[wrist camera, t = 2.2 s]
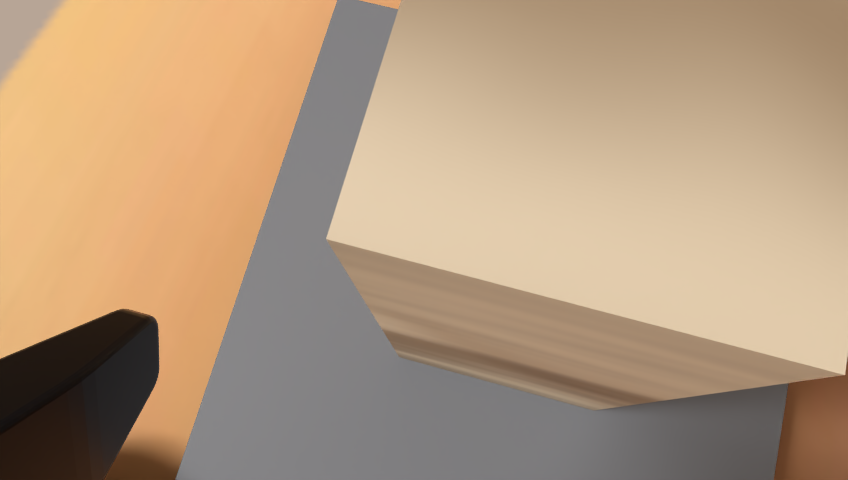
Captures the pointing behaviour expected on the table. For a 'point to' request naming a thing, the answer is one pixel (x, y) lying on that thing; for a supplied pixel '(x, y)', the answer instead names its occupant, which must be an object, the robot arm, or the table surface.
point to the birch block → (607, 195)
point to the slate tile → (404, 379)
